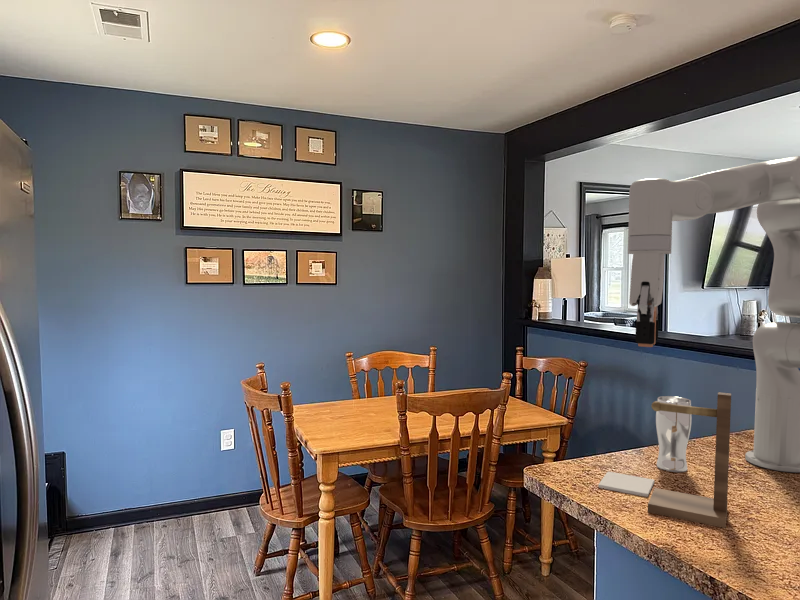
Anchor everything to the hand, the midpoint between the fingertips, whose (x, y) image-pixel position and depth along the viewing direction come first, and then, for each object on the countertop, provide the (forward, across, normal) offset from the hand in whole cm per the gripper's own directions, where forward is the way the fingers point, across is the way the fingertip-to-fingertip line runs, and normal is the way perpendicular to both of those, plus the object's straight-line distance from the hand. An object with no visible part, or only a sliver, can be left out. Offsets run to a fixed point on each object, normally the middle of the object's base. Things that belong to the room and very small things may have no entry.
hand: (646, 340), depth 110 cm
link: (+1, 0, 0) cm, 1 cm away
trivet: (+29, -3, -3) cm, 30 cm away
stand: (+29, +5, +8) cm, 31 cm away
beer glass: (+30, -19, +4) cm, 35 cm away
